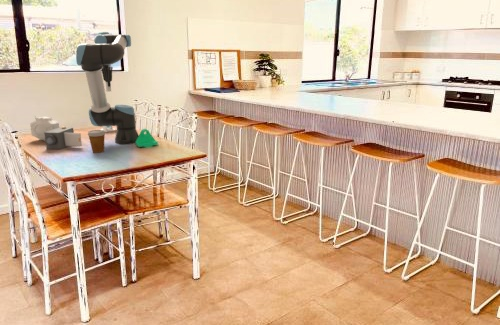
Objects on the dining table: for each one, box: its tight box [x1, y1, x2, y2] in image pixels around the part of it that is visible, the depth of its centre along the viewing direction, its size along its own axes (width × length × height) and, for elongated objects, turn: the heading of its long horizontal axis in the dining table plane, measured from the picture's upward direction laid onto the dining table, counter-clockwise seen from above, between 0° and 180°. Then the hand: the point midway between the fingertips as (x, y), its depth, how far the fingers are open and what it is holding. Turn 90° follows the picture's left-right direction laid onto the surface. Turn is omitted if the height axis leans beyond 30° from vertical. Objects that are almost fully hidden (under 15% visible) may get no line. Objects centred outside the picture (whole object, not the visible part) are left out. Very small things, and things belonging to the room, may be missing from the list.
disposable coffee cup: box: [87, 129, 106, 154], centre depth 235 cm, size 10×10×12 cm
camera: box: [30, 115, 60, 142], centre depth 263 cm, size 11×18×16 cm, turn 76°
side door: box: [64, 132, 83, 147], centre depth 245 cm, size 11×1×8 cm, turn 81°
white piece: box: [99, 126, 117, 133], centre depth 296 cm, size 12×11×15 cm
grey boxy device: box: [44, 126, 75, 150], centre depth 248 cm, size 19×9×11 cm, turn 173°
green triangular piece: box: [134, 128, 159, 149], centre depth 249 cm, size 12×8×10 cm, turn 120°
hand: (108, 91), depth 280 cm, fingers closed
